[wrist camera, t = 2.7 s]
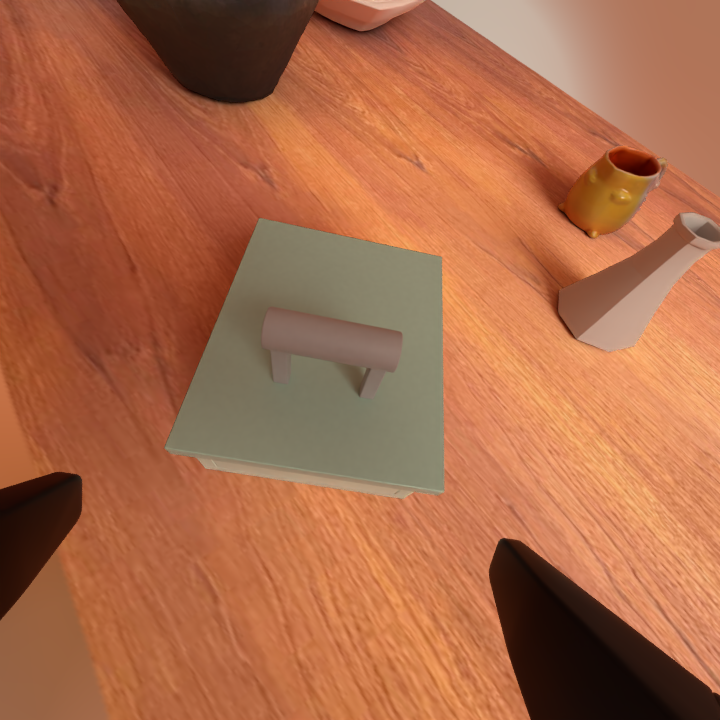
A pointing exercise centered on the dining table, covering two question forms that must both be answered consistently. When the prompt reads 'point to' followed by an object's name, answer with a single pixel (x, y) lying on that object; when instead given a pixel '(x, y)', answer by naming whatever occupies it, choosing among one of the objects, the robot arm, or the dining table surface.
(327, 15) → the bowl
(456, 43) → the dining table surface
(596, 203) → the mug
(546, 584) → the robot arm
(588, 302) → the flask
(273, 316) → the lid
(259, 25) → the pitcher
